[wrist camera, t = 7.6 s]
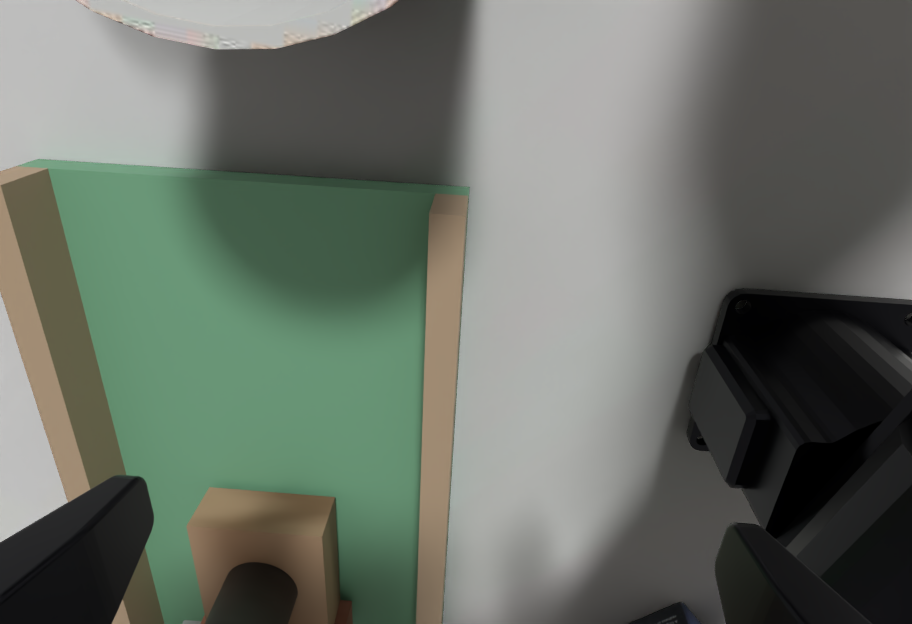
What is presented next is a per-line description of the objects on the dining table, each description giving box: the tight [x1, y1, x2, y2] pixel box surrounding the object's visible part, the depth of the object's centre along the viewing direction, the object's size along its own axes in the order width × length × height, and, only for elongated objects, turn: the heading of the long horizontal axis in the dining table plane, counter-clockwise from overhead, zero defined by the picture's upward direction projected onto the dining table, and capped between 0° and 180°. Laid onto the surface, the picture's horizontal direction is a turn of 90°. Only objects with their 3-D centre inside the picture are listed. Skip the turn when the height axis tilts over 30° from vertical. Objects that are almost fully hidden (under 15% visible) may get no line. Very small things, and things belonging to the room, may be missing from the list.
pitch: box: [0, 159, 469, 624], centre depth 23 cm, size 14×27×5 cm, turn 177°
